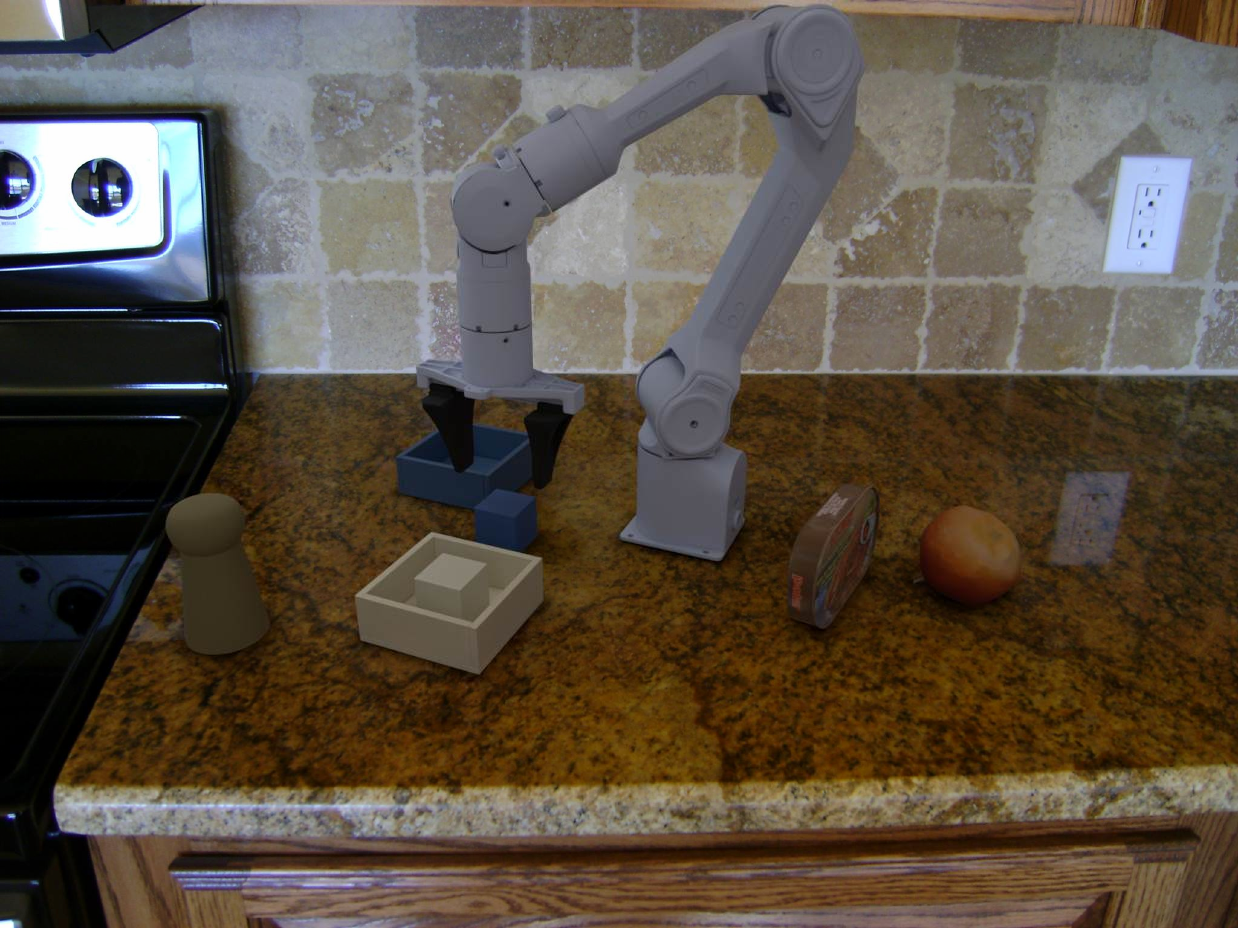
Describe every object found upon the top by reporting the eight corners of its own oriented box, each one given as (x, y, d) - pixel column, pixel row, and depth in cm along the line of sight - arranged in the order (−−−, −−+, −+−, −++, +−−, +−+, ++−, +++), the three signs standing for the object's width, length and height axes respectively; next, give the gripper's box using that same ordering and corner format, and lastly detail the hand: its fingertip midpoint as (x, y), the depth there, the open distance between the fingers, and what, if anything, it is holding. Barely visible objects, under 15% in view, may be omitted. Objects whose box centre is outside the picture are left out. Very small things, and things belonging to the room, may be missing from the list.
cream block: (490, 606, 73) (487, 563, 71) (463, 635, 70) (460, 590, 68) (446, 595, 74) (442, 552, 72) (418, 622, 71) (413, 578, 69)
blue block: (537, 536, 84) (536, 496, 82) (516, 557, 80) (514, 517, 79) (498, 527, 85) (496, 488, 83) (476, 547, 82) (473, 507, 80)
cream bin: (543, 600, 75) (542, 557, 73) (479, 675, 66) (475, 628, 64) (434, 572, 78) (431, 531, 76) (360, 640, 70) (354, 595, 68)
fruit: (925, 532, 82) (983, 478, 77) (989, 602, 80) (1055, 552, 74) (875, 566, 77) (934, 511, 71) (943, 642, 75) (1009, 591, 69)
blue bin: (540, 470, 96) (539, 434, 94) (490, 513, 87) (488, 475, 86) (454, 453, 99) (452, 418, 98) (399, 493, 91) (395, 456, 89)
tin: (812, 649, 69) (825, 552, 66) (773, 635, 71) (783, 539, 67) (877, 560, 81) (890, 473, 77) (842, 549, 82) (853, 464, 79)
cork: (242, 659, 67) (215, 527, 63) (167, 648, 68) (135, 517, 64) (285, 612, 73) (263, 487, 68) (215, 602, 74) (189, 478, 69)
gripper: (389, 324, 73) (404, 479, 79) (556, 349, 68) (559, 513, 74) (438, 301, 79) (448, 447, 85) (595, 323, 74) (594, 476, 80)
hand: (502, 476), depth 80 cm, fingers open, 7 cm apart
